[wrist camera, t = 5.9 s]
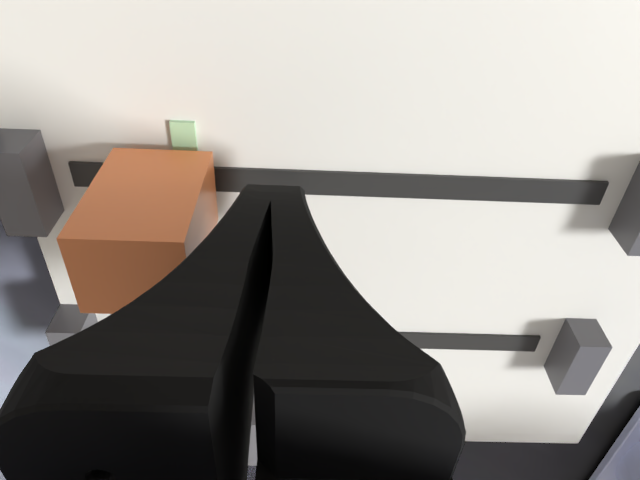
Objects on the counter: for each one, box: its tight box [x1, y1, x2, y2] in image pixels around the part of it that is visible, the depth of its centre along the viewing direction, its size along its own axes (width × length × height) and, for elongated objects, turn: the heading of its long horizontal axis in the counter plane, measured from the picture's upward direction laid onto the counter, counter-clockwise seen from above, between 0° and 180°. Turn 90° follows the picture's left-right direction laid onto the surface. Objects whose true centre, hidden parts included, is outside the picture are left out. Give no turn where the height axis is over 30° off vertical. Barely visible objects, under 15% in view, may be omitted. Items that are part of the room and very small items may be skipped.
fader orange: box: [56, 148, 218, 314], centre depth 12 cm, size 2×2×4 cm
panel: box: [0, 0, 640, 443], centre depth 16 cm, size 19×18×2 cm
